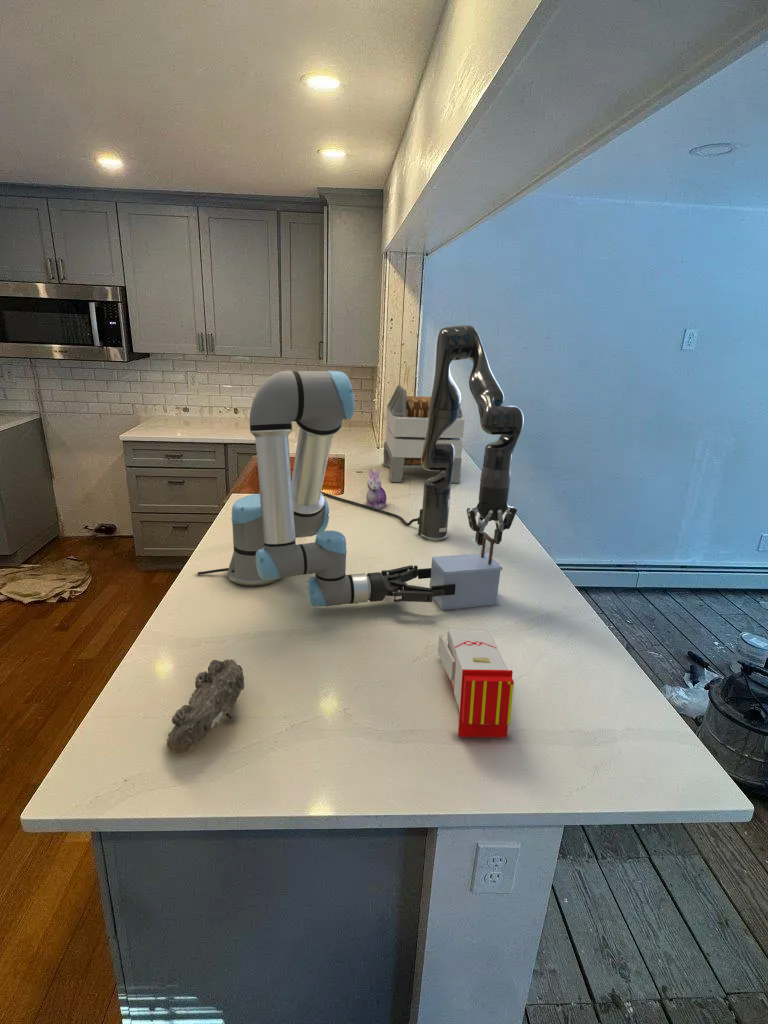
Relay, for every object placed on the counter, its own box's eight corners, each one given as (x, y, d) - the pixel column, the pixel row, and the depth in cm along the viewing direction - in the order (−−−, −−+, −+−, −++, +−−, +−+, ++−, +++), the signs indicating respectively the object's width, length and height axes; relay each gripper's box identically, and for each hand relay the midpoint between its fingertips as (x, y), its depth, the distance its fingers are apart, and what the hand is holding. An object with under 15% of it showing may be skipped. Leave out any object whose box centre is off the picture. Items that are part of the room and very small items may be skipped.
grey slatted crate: (382, 463, 289) (386, 382, 275) (445, 464, 293) (451, 384, 279) (390, 482, 257) (394, 392, 243) (460, 483, 261) (468, 394, 247)
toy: (488, 613, 130) (523, 677, 101) (484, 667, 133) (517, 744, 104) (435, 612, 130) (455, 676, 101) (432, 666, 133) (451, 743, 103)
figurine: (370, 511, 220) (372, 474, 215) (359, 503, 229) (360, 467, 224) (392, 508, 224) (394, 471, 219) (380, 500, 233) (381, 465, 228)
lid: (486, 555, 160) (489, 528, 157) (502, 570, 151) (505, 541, 148) (431, 559, 156) (434, 531, 153) (444, 575, 147) (447, 546, 144)
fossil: (192, 660, 117) (244, 628, 112) (224, 691, 120) (276, 661, 115) (142, 746, 98) (202, 712, 93) (182, 779, 101) (242, 748, 96)
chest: (481, 588, 163) (485, 555, 160) (496, 604, 155) (500, 570, 151) (429, 593, 159) (431, 559, 156) (441, 610, 150) (444, 575, 147)
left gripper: (357, 581, 159) (432, 574, 165) (377, 622, 139) (462, 613, 145) (358, 556, 156) (434, 551, 162) (379, 595, 136) (465, 586, 142)
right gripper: (475, 488, 142) (469, 551, 148) (526, 486, 146) (518, 547, 151) (463, 480, 149) (458, 540, 154) (512, 478, 152) (505, 537, 158)
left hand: (447, 580), depth 153 cm, fingers closed on chest, 10 cm apart
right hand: (488, 543), depth 153 cm, fingers open, 4 cm apart
